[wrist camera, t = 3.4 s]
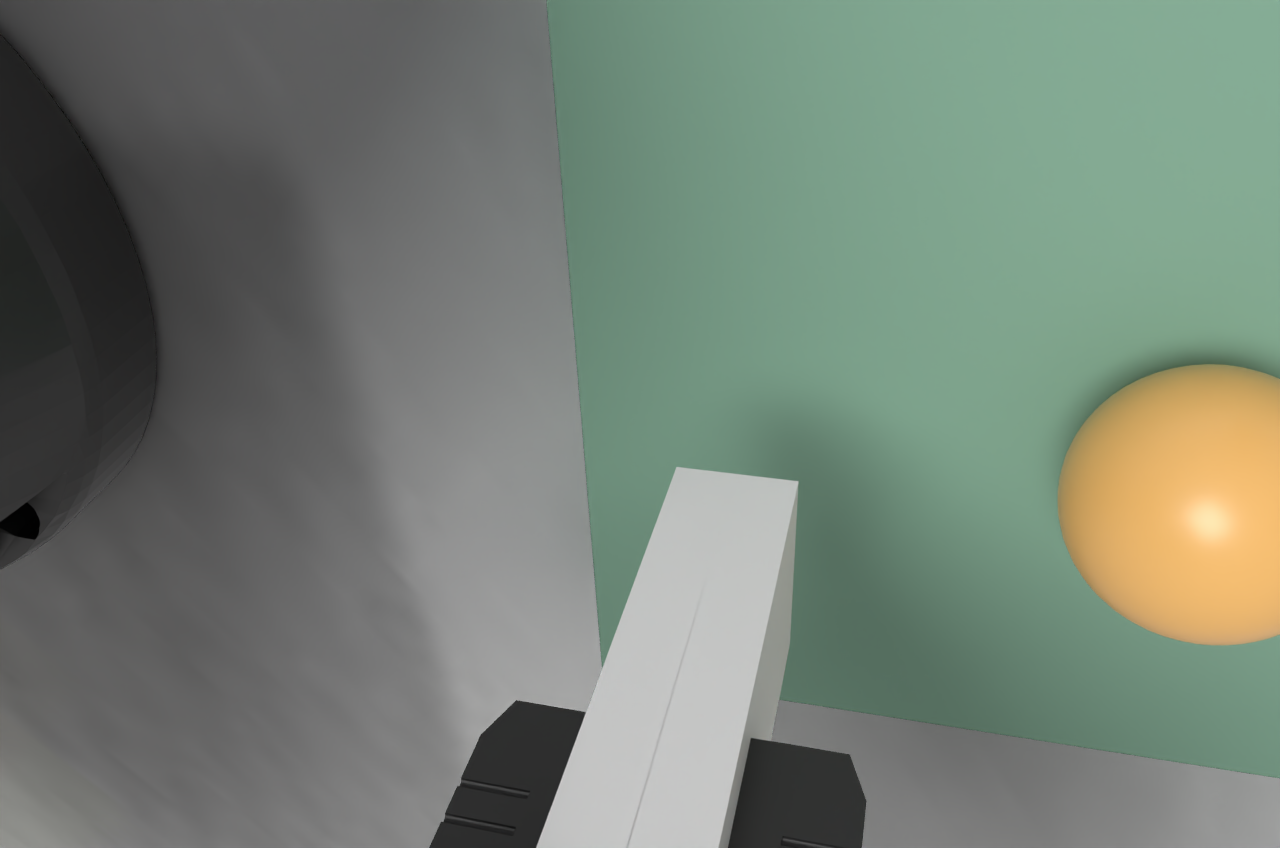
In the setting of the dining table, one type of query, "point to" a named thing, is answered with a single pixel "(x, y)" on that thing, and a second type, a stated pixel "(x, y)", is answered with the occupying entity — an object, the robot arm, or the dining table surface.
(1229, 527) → the ball
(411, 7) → the dining table surface
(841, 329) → the mini golf green
